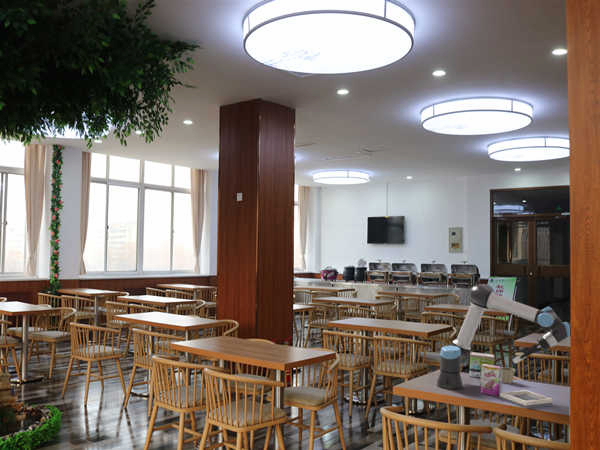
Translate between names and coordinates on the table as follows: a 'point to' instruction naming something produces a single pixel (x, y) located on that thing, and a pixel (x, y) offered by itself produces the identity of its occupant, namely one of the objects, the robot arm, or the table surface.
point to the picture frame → (526, 399)
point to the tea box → (479, 362)
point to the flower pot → (507, 375)
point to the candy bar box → (491, 380)
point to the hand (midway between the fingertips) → (514, 361)
